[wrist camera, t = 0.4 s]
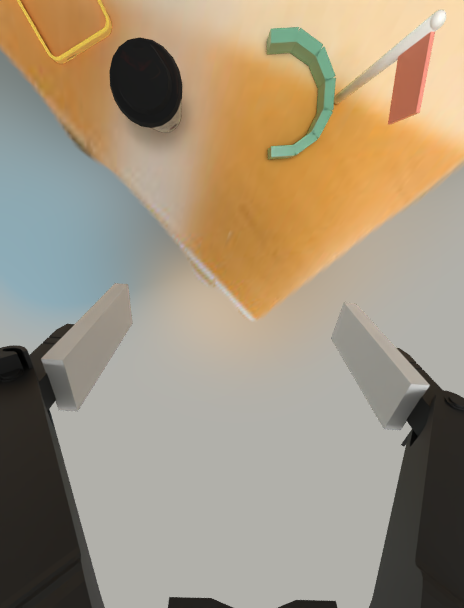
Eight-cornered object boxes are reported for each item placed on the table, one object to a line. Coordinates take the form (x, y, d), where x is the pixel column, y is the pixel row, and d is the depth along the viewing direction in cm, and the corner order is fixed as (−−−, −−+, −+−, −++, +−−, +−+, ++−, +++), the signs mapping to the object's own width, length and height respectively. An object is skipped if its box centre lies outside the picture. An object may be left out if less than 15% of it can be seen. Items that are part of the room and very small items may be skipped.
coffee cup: (193, 142, 34) (184, 123, 25) (140, 143, 34) (112, 124, 25) (187, 76, 31) (175, 27, 22) (130, 77, 31) (94, 28, 22)
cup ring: (266, 41, 30) (270, 28, 28) (330, 37, 30) (339, 24, 28) (267, 159, 35) (271, 157, 33) (322, 155, 35) (329, 153, 33)
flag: (332, 95, 33) (437, 6, 17) (340, 95, 33) (451, 5, 17) (328, 147, 35) (418, 110, 19) (335, 147, 35) (430, 109, 20)
